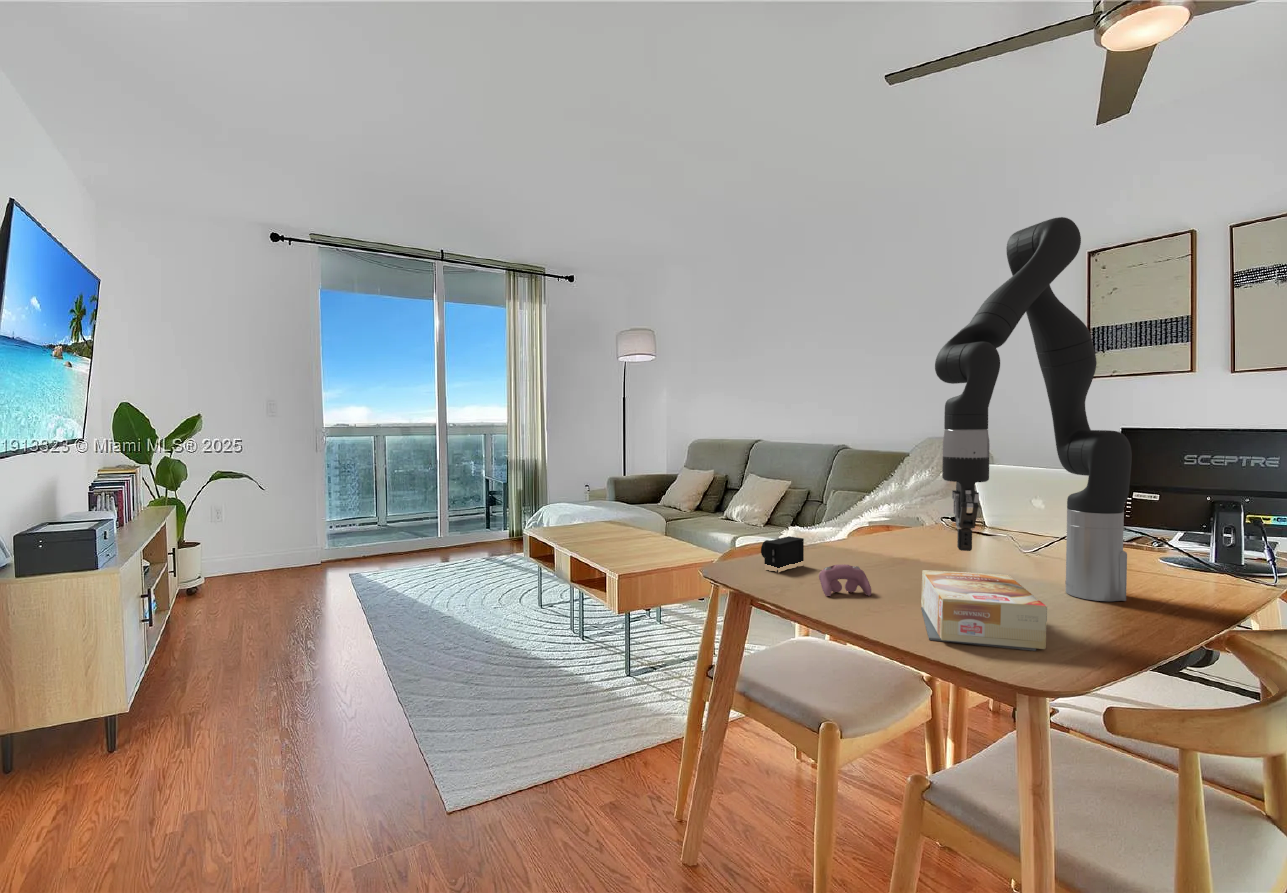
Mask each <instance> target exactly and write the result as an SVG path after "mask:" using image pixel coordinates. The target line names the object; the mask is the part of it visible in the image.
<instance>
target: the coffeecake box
mask: <svg viewBox="0 0 1287 893" xmlns="http://www.w3.org/2000/svg"><path fill="white" fill-rule="evenodd" d="M921 572H922V573H921V574H922V575H921V578H922V579H921V595H920V601H921V602H920V605H921V607H923V609H924V610H925V612H926V614H927V615H928V617H929V619H930V621H931V622H932V624H933V626H934V628H935V629H936V631H937V633H938V635H939V636H940V638H941V640H946V641H957V642H968V643H979V644H991V645H1002V646H1014V647H1025V648H1036V650H1037V649H1040V650H1046V646H1047V644H1046V643H1047V622H1048V606H1047V605H1046V604H1045V603H1043V602H1042V601H1041V600H1040V599H1038V598H1037V597H1036V596H1035V595H1033V594H1032V593H1031V592H1030V591H1029V590H1027V589H1026V588H1025V587H1024V586H1023V585H1021V584H1020V583H1019V582H1017V580H1016V579H1014V578H1012V576H1011V575H1010V574H1000V573H999V574H997V573H983V572H982V573H981V572H968V571H967V572H965V571H964V572H962V571H947V570H946V571H944V570H928V569H927V570H925V569H923V570H921Z"/></svg>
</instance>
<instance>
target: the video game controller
mask: <svg viewBox="0 0 1287 893" xmlns="http://www.w3.org/2000/svg"><path fill="white" fill-rule="evenodd" d="M818 578H819V579H818V580H819V582H820V586H821V589H822V592H823V595H825V596H826V597H827V596H830V597H831V595H832V593H833V592H838V593H840V592H841V591H842V590H843V586H842V584H841V582H840V581H839V580H846V582H845V584H844V589H845V590H846V592H847V591H848V593H849V592H853V593H855V592H856V591H857V588H858V587H860V589H861V590H862V591H863V593H864V594H865V595H866V596H867V595H868V596H867V597H870V596H872V586H871V583H870V581H869V579H868V576H867V574H866V573H865V571H864V570H863V569H861V568H860V567H859V566H853V565H850V564H834V565H830V566H827V567H825V568H823V569H822V570H820V572H819V573H818ZM832 591H833V592H832Z"/></svg>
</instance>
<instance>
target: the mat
mask: <svg viewBox="0 0 1287 893" xmlns="http://www.w3.org/2000/svg"><path fill="white" fill-rule="evenodd" d="M920 610H921V613H922V617H923V622H924V625H925V629H926V633H927V637H928V640H929V641H933V642H934V641H936V642H943V643H954V644H955V643H956V644H963V645H964V644H965V645H974V646H983V647H984V646H985V647H991V648H992V647H994V648H995V647H996V648H1003V649H1011V650H1012V649H1013V650H1014V649H1015V650H1022V651H1023V650H1024V651H1030V652H1031V651H1034V652H1037V648H1025V647H1014V646H1002V645H991V644H979V643H968V642H957V641H946V640H941V638H940V636H939V635H938V633H937V631H936V629H935V628H934V626H933V624H932V622H931V621H930V619H929V617H928V615H927V614H926V612H925V610H924V609H923V607H922V606H921V608H920Z"/></svg>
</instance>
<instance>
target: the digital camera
mask: <svg viewBox="0 0 1287 893" xmlns="http://www.w3.org/2000/svg"><path fill="white" fill-rule="evenodd" d="M804 540H805V539H804V538H802V537H797V536H785V537H780V538H775V539H772V540H771V539H770V540H769V539H766V540H763V543H762V544H761V547H760V553H761V556H762V558H764V564H767V565H771V566H774V567H777V568H780V567H783V566H786V565H789V564H795V563H798V562H801V561H804V560H805V559H804V554H805V553H804V547H805V545H804V544H805V541H804Z"/></svg>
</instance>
